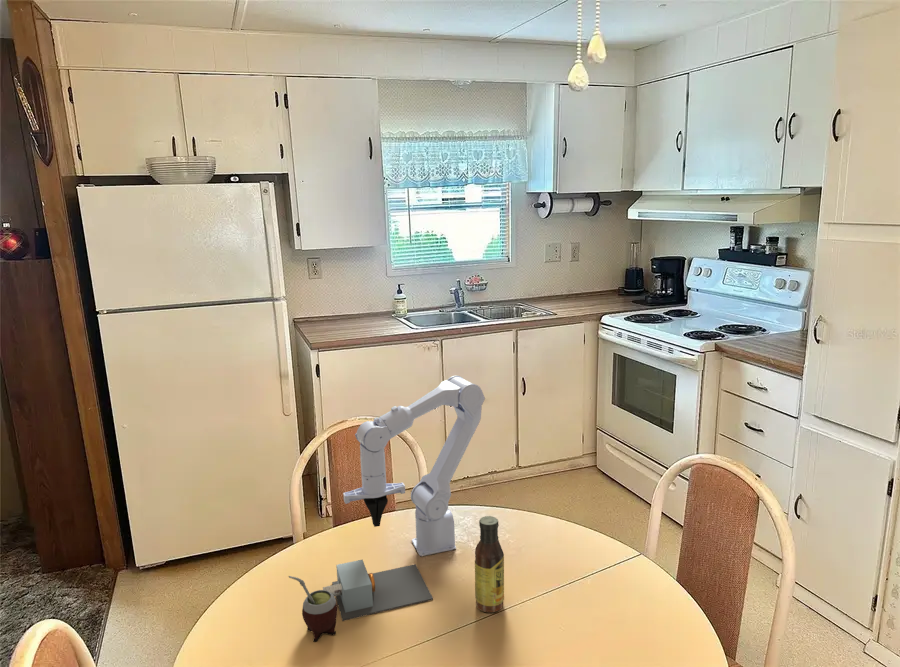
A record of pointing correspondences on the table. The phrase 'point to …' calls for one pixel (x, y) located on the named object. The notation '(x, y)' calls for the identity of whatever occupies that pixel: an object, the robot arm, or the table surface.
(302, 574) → the table surface
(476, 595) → the sauce bottle
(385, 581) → the mat
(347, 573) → the block
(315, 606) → the mate gourd
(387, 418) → the robot arm
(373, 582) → the pin
